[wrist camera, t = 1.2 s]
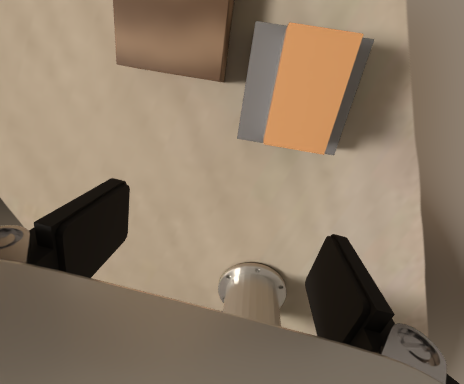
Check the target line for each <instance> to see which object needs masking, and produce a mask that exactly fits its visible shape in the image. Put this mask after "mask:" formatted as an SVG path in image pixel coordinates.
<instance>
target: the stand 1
mask: <svg viewBox="0 0 464 384" xmlns="http://www.w3.org/2000/svg"><path fill="white" fill-rule="evenodd" d="M233 6H234V0H113V7H114V25H115V43H116V62H117V64H118V65H123V66H128V67H133V68H139V69H145V70H151V71H158V72H164V73H170V74H176V75H182V76H188V77H194V78H200V79H206V80H212V81H218V82H224V79H225V71H226V63H227V55H228V46H229V38H230V30H231V22H232V14H233Z"/></svg>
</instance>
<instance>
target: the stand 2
mask: <svg viewBox="0 0 464 384" xmlns="http://www.w3.org/2000/svg"><path fill="white" fill-rule="evenodd" d="M286 29H287V26H285V25H278V24H272V23H265V22H259V21H256V22H255V29H254V35H253V41H252V47H251V54H250V60H249V66H248V73H247V79H246V85H245V92H244V98H243V104H242V111H241V117H240V123H239V129H238V136H237V139H242V140H248V141H254V142H260V143H264V142H263V131H264V126H265V121H266V116H267V111H268V106H269V101H270V96H271V92H272V87H273V82H274V77H275V72H276V67H277V62H278V57H279V52H280V47H281V43H282V38H283V35H284V33H285V31H286ZM373 42H374V39H369V38H362V40H361V43H360V47H359V50H358V53H357V56H356V59H355V62H354V65H353V68H352V71H351V74H350V77H349V80H348V83H347V86H346V89H345V92H344V95H343V98H342V101H341V105H340V108H339V111H338V114H337V117H336V120H335V123H334V126H333V129H332V132H331V135H330V138H329V141H328V144H327V147H326V150H325V153H324V154H329V155H334V154H335V151H336V148H337V146H338V143H339V140H340V137H341V134H342V131H343V128H344V125H345V123H346V120H347V117H348V114H349V111H350V108H351V105H352V102H353V99H354V97H355V94H356V91H357V88H358V85H359V82H360V79H361V76H362V74H363V71H364V68H365V65H366V62H367V59H368V56H369V53H370V51H371V48H372V45H373Z"/></svg>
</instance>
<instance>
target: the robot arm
mask: <svg viewBox="0 0 464 384" xmlns="http://www.w3.org/2000/svg"><path fill="white" fill-rule="evenodd" d="M129 192H130V188H129V186H128V185H127V184H126V182H125V181H122V180H118V179H114V178H111V179H109V180H108V181H106V182H104V183H102V184H100V185H99V186H97V187H95V188H93V189H92V190H90V191H88V192H86V193H85V194H83V195H81V196H79V197H78V198H76V199H74V200H72V201H71V202H69V203H67V204H65V205H63V206H62V207H60V208H58V209H56V210H55V211H53V212H51V213H49V214H48V215H46V216H44V217H42V218H41V219H39V220H37V221H35V222H34V228H33V229H31V230H27V229H26V228H24V227H21V226H15V225H6V226H5V225H4V226H0V384H459V383H458V382H457V381H455V380H454V379H453V378H452V377H450V376H449V375H448V374H447V364H446V360H445V358H444V356H443V354H442V353H441V351H440V350H439V349H438V348H437V346H436V345H435V344H434V343H433V342H432V341H431V340H430V339H429V338H427V337H426V336H425V335H424V334H422V333H421V332H419V331H418V330H416V329H415V328H413V327H410V326H408V325H406V324H400V323H398V324H395V323H394V321H393V320H392V317H393V316H394V315H395V314H394V313H393V311H392V309H391V308H390V306H389V305H388V303H387V301H386V300H385V298H384V297H383V295H382V293H381V292H380V290H379V289H378V287H377V285H376V284H375V282H374V281H373V279H372V277H371V276H370V274H369V273H368V271H367V269H366V268H365V266H364V264H363V263H362V261H361V260H360V258H359V256H358V255H357V253H356V252H355V250H354V248H353V247H352V245H351V244H350V242H349V240H348V239H347V238H346V237H343V236H339V235H335V234H332V235H331V236H327V237H326V239H325V241H324V243H323V245H322V247H321V249H320V251H319V253H318V256H317V258H316V260H315V262H314V264H313V266H312V268H311V270H310V272H309V274H308V276H307V278H306V282H305V287H306V291H307V295H308V300H309V304H310V308H311V312H312V316H313V320H314V324H315V328H316V332H317V336H314V335H310V334H307V333H303V332H299V331H295V330H291V329H287V328H284V327H281V321H280V311H279V308H280V307H281V306H282V305H283V303H284V301H285V299H286V286H285V283H284V280H283V278H282V277H281V276H280V275H279V274H278V273H277V272H276V271H275V270H273V269H272V268H270V267H268V266H265V265H262V264H258V263H242V264H238V265H235V266H233V267H231V268H229V269H228V270H226V271H225V272H224V273H223V275H222V276H221V278H220V281H219V286H218V293H219V296H220V299H221V300H222V302H223V303H224V306H223V312H222V311H218V310H215V309H211V308H207V307H203V306H199V305H195V304H191V303H187V302H183V301H179V300H175V299H172V298H168V297H164V296H160V295H156V294H152V293H148V292H144V291H140V290H136V289H132V288H128V287H124V286H120V285H116V284H112V283H108V282H104V281H100V280H96V279H92V278H91V277H92V276H93V275H94V274H95V273H96V272H97V270H98V269H99V268H100V267H101V266H102V265H103V264H104V263H105V262H106V261H107V260H108V258H109V257H110V256H111V255H112V254H113V253H114V252H115V251H116V250H117V249H118V248H119V246H120V245H121V244H122V243H123V242H124V241H125V239H126V237H127V234H128V214H129Z"/></svg>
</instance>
